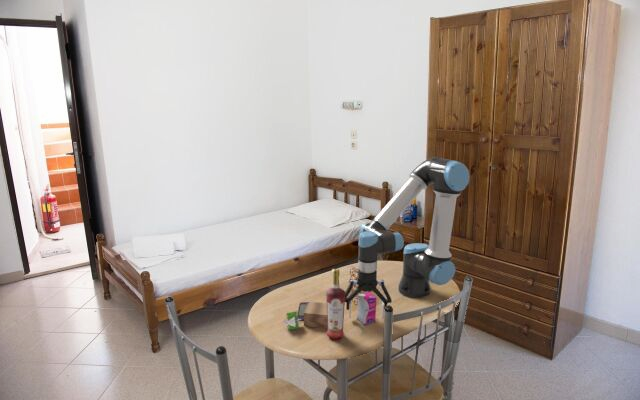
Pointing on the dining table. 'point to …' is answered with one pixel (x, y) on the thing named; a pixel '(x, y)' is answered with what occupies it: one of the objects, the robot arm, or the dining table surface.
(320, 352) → the dining table surface
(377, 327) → the dining table surface
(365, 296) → the supplement box
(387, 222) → the robot arm
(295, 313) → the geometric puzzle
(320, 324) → the walnut pedestal block
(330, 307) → the liquor
